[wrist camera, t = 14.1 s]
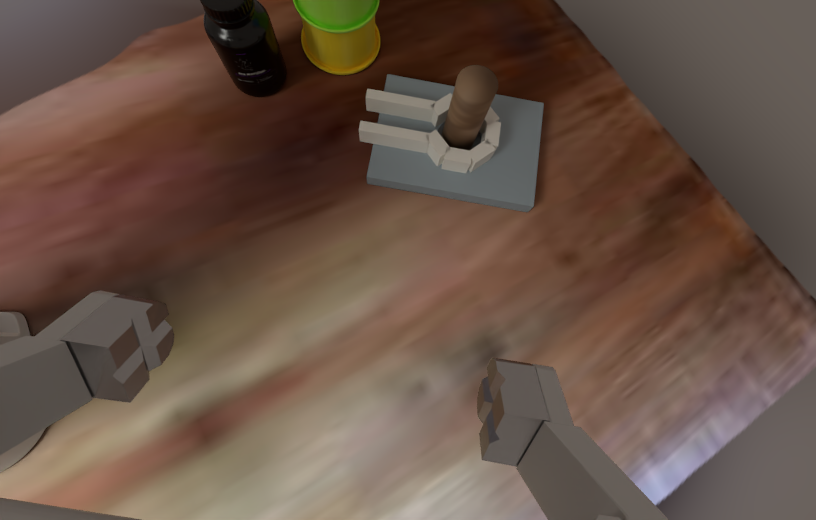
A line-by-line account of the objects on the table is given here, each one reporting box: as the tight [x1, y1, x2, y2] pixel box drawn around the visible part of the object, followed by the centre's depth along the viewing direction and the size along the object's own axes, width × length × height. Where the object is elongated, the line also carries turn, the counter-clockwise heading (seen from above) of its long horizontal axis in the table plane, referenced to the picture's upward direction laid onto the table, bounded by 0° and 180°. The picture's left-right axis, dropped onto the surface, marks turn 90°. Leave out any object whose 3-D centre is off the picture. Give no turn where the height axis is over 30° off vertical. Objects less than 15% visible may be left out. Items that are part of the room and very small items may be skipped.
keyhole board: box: [359, 74, 544, 212], centre depth 45 cm, size 22×14×4 cm, turn 81°
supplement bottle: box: [200, 0, 287, 97], centre depth 42 cm, size 7×7×12 cm
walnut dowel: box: [441, 65, 498, 150], centre depth 41 cm, size 4×4×10 cm
